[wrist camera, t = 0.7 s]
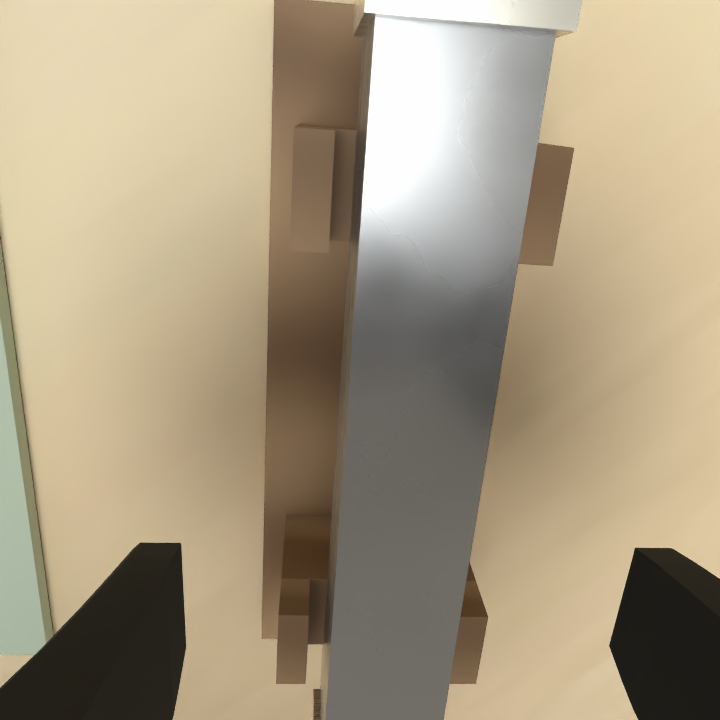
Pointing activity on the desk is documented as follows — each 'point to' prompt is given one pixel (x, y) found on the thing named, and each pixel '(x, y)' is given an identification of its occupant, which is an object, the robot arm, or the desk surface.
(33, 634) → the mat
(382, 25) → the rail
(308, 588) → the stand
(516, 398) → the desk surface
